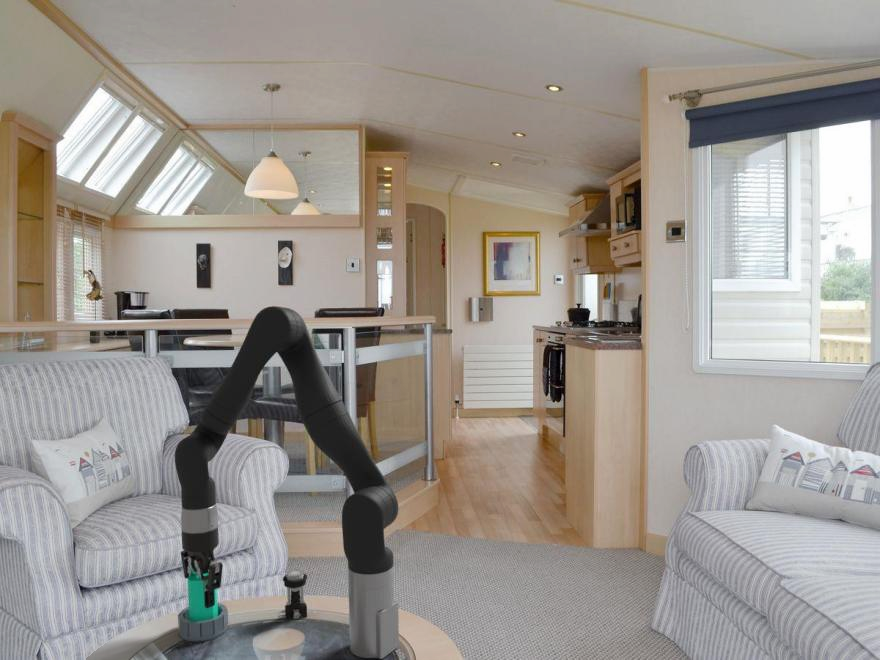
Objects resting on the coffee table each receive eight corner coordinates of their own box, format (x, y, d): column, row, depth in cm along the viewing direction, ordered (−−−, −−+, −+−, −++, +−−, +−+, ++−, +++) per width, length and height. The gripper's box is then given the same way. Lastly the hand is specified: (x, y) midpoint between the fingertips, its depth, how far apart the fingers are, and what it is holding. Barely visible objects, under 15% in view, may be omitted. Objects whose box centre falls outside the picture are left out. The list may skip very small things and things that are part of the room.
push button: (278, 624, 166) (277, 579, 165) (277, 613, 171) (275, 570, 170) (309, 619, 168) (308, 576, 167) (306, 609, 173) (305, 567, 172)
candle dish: (237, 626, 165) (236, 609, 164) (200, 646, 156) (199, 627, 156) (206, 616, 170) (205, 598, 170) (169, 634, 162) (168, 616, 161)
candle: (205, 613, 167) (202, 561, 166) (224, 619, 164) (222, 566, 163) (183, 624, 162) (180, 570, 161) (202, 631, 159) (200, 575, 158)
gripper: (233, 528, 159) (236, 607, 160) (199, 514, 169) (202, 588, 170) (200, 538, 154) (203, 619, 155) (167, 522, 164) (170, 599, 165)
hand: (202, 602), depth 163 cm, fingers closed on candle, 4 cm apart
